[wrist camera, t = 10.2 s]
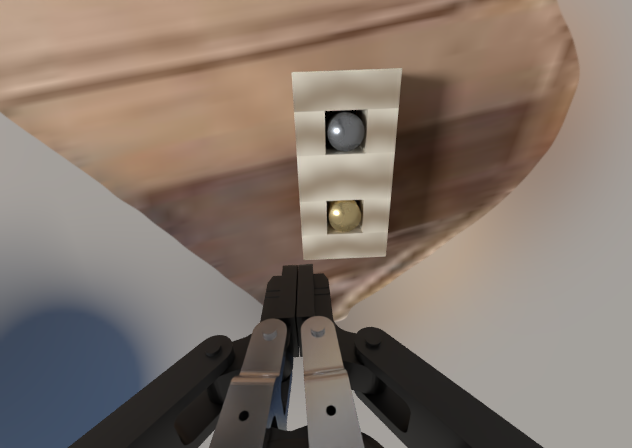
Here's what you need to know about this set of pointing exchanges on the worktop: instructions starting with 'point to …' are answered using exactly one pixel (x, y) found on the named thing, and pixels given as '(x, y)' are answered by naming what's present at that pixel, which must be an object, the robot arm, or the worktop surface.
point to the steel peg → (344, 130)
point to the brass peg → (343, 214)
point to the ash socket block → (346, 159)
